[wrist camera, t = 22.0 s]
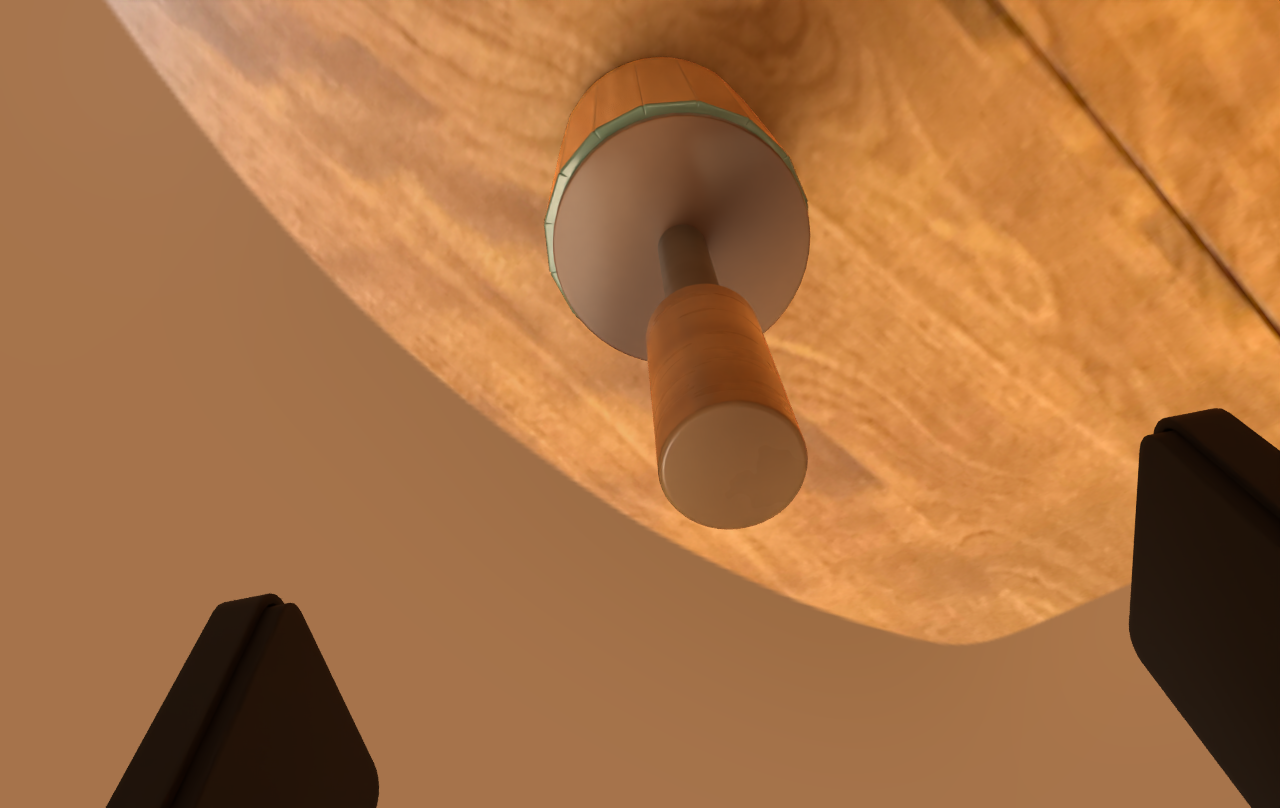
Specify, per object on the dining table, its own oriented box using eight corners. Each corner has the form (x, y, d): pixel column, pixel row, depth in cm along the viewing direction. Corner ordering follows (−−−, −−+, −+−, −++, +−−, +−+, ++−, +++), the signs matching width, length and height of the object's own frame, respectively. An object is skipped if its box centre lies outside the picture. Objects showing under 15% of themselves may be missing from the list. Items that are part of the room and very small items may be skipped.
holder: (538, 221, 32) (515, 317, 24) (595, 27, 29) (590, 62, 21) (716, 277, 33) (750, 386, 25) (787, 95, 30) (851, 153, 22)
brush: (544, 233, 31) (468, 589, 14) (597, 40, 28) (582, 197, 12) (722, 285, 32) (847, 674, 15) (789, 104, 30) (1033, 333, 13)
